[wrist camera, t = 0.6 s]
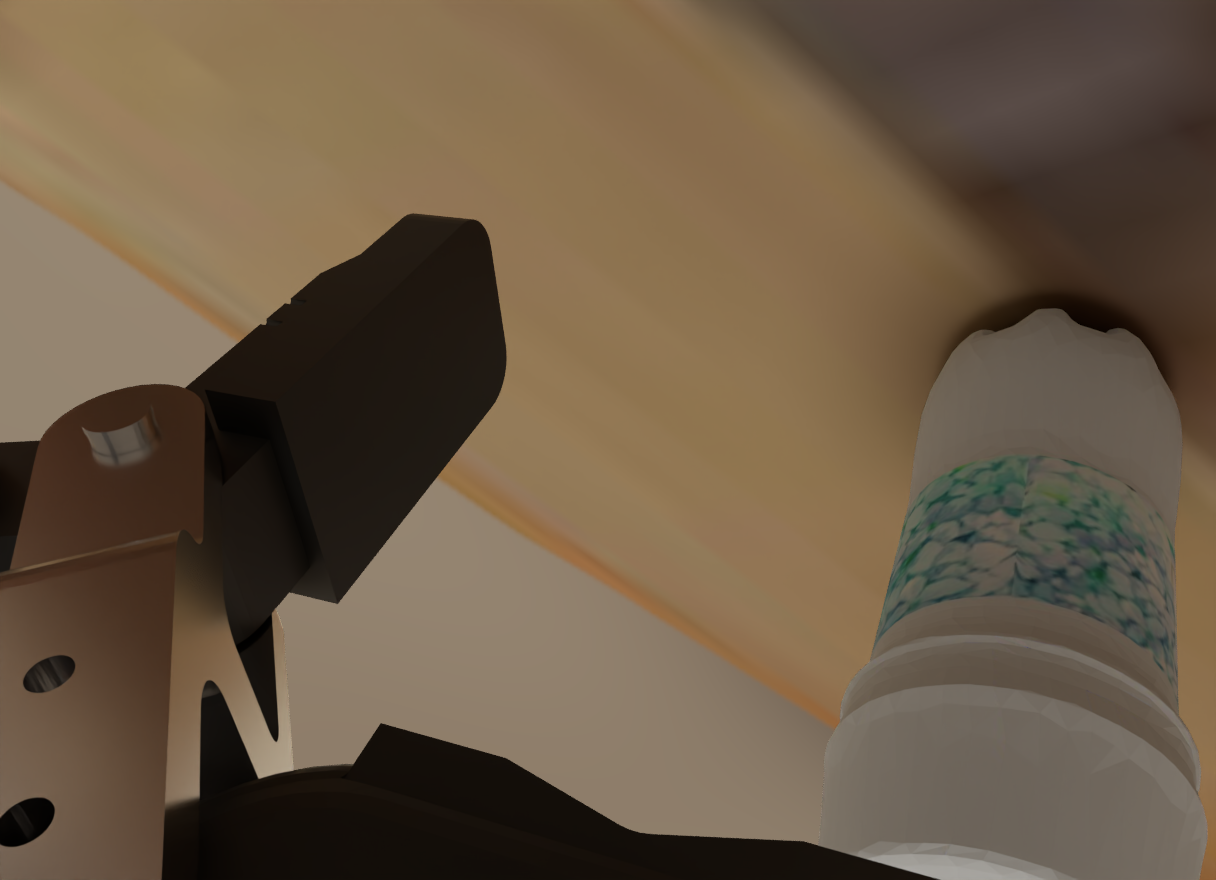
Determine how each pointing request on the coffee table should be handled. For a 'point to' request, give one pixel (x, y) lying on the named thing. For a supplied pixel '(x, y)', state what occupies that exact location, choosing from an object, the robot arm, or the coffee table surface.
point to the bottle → (1029, 629)
